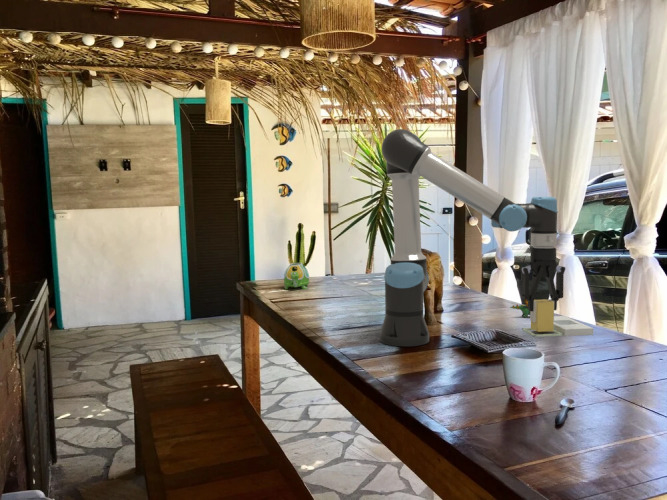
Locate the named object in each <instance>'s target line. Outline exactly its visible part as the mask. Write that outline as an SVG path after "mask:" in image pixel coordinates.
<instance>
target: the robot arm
mask: <svg viewBox="0 0 667 500" xmlns="http://www.w3.org/2000/svg"><path fill="white" fill-rule="evenodd" d="M381 144H382V145H381V154H382V156H383V158H384V160H385V161H386V176H387V177H388V178H389V179H390V180H391V189H392V191H391V192H392V213H393V214H392V215H393V240H394V241H393V242H394V254H393V255H392V256H391V257H390V264H389V265H388V266H387V267H386V268H385V271H384V272H385V273H384V299H385V301H384V303H385V304H384V308H385V311H384V315H385V316H384V319H383V322H382V326H381V327H380V328H381V329H380V332H379V341H380V343H383V344H385V345H389V346H395V347H418V346H423V345H426V344H428V343H429V342H430V332H429V328H428V326H427V323H426V320H425V317H424V293H425V291H426V290H427V288H428V285H429V280H430V279H429V273H428V268H427V267H428V265H427V257H426V255H424V254H423V252H422V237H421V235H422V232H421V230H422V229H421V211H420V208H421V205H420V186H419V185H420V183H419V182H420V180H419V179H420V178H422V179H425V180H426V181H428V182H430V183H431V184H433V185H435V186H436V187H437V188H439V189H441V190H443V191H444V192H446V193H448V194H449V195H451V196H452V197H454V198H456V199H457V200H458V201H460V202H461V203H463V204H465V205H467V206H468V207H470V208H472V210H473V209H474V210H475V211H476V212H478V213H479V214H481V215H483V216H485V217H486V218H488V219H490V224H491V227H492V228H496V229H504V230H506V231H508V232H517V231H520V230H522V229H523V228H524V229H525V228H526V229H527V228H530V246H531V248H530V262H529V263H528V265H526V266H524V267H523V266H522V267H520V271H521V277H522V278H521V298H522V299H525V300H526V299H527V302H528V311H530V315H529V317H530V318H529V319H530V320H529V321H530V322H531V321H532V322H536V306H537V302H536V301H534V300H536V294H537V291H538V287H539V283H540V281H541V279H542V278H545V279H546V285H547V289H548V293H549V297H550V299H547V300H549V301H551V302H554V311H557V309H558V301H559V300H560V299H563V298H564V275H565V271H566V267H565V266H562V265H558V264H557V248H556V246H557V244H558V242H557V236H558V235H557V229H558V228H557V227H558V212H559V211H558V200H557V198H556V197H554V196H533V197H531V201H530V202H528V203H515V202H514V201H512V200H510V199H508V198H506V197H505V196H504V195H502V194H500V193H498V192H497V191H496V190H494V189H492V188H490V187H489V186H487V185H486V184H484V183H482V182H481V181H479V180H477V178H475V177H473V176H471V175H469V174H467V173H466V172H464V171H463V170H461V169H459V168H458V167H456V165H455V166H454V165H453V164H451V163H449V162H448V161H447V160H445V159H443V158H442V157H440V156H439V155H437V154H435V153H434V152H432V150H431V147H430V146H429V145H427V144H425V143H424V142H423V141H421V139H420V137H418V136H417V134H415V133H413V132H411V131H410V130H408V129H404V128H403V129H402V128H400V129H399V128H398V129H395V130H392V131H390V132H389V133H388V134H387V135H386V136H385V137H384V139H383V141H382V143H381ZM531 272H532V276H531V283H530V273H531ZM554 272H556V273H555V277H554ZM554 279H555V280H554Z"/></svg>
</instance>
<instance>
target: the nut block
mask: <svg viewBox="0 0 667 500" xmlns="http://www.w3.org/2000/svg"><path fill="white" fill-rule="evenodd" d="M534 301H536V302H537V306H536V322H532V321H530V328H532V329H534V330H533V331H535V332H537V333H538V332H540V333H541V332H552V331H553V322H554V316H555V310H554V302H551V301H549V300H548V299H534Z"/></svg>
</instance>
